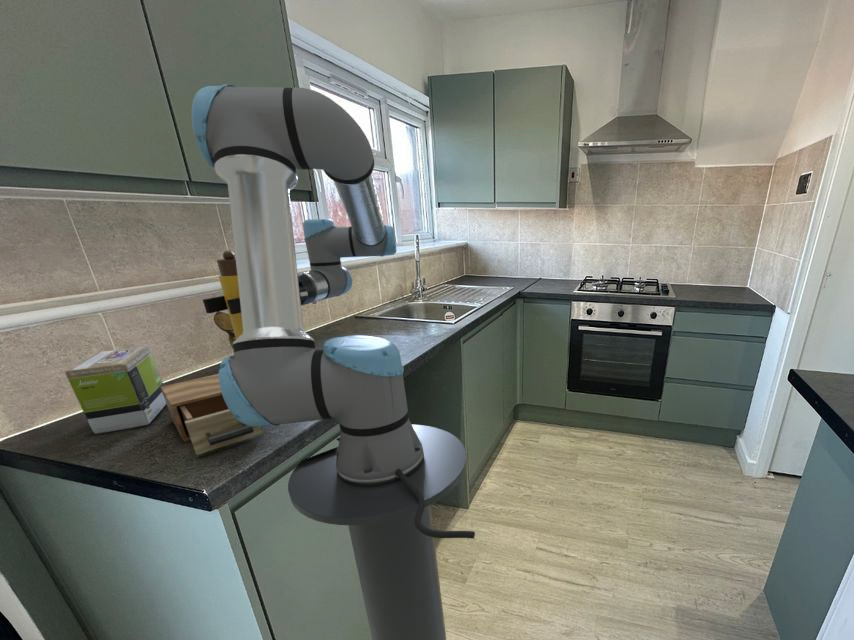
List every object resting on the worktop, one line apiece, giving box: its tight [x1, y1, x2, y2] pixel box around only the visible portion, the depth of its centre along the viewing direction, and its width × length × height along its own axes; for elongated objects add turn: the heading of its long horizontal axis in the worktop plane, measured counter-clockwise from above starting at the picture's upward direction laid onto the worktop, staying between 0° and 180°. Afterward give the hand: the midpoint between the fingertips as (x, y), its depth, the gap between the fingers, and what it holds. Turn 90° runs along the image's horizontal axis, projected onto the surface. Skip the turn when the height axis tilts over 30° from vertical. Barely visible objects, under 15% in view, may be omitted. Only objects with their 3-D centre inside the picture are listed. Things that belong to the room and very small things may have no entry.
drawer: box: [178, 395, 263, 456], centre depth 83 cm, size 18×11×7 cm, turn 45°
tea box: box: [64, 345, 167, 435], centre depth 94 cm, size 15×10×15 cm
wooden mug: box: [213, 311, 236, 351], centre depth 122 cm, size 9×14×18 cm, turn 70°
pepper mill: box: [216, 250, 243, 339], centre depth 85 cm, size 5×5×22 cm
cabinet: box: [161, 373, 222, 443], centre depth 91 cm, size 14×12×8 cm
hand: (218, 306), depth 80 cm, fingers closed on pepper mill, 5 cm apart
